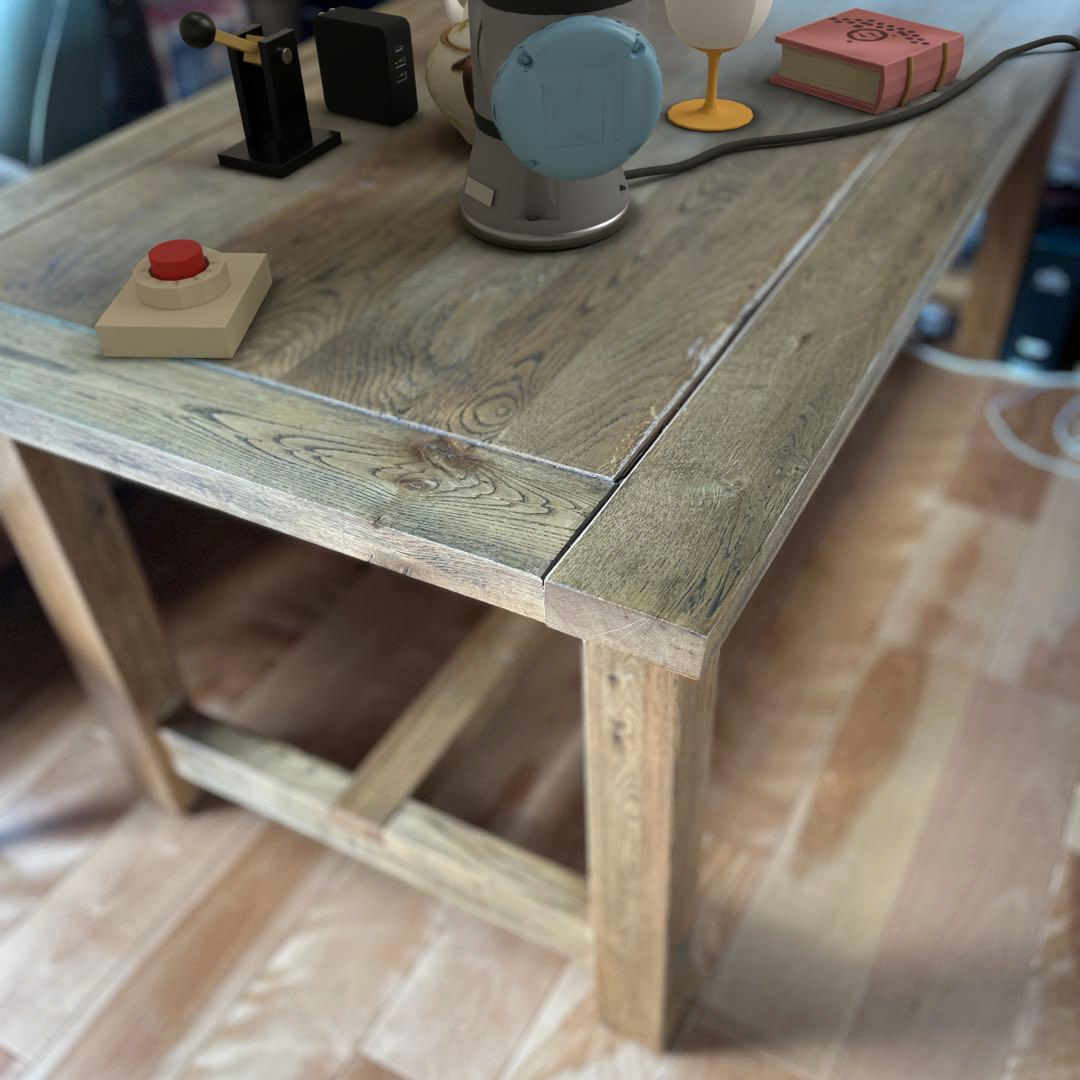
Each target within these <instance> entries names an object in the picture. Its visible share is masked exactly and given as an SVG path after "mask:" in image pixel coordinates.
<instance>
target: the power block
mask: <svg viewBox="0 0 1080 1080" xmlns="http://www.w3.org/2000/svg"><path fill="white" fill-rule="evenodd" d="M201 247H202V251H203V255H204V259H205V263H206V270H205V271H204V272H202V273H200V274H198V275H196V276H194V277H191V278H187V279H183V280H178V281H161V280H158V279H156V278H155V277H154V275H153V271H152V268H151V264H150V261H149V257H148V253H147V254H146V256H145V257H144V258H143V259H140V261H139V262H138V263H137V264H136V266H135V267H134V269H133V270H132V271H131V275H130V277H129V279H127V281H126V282H125V283H124V285H123V286H122V288H121V289H120V291H119V292H118V293H117V294H116V296H115V297H114V299H113V300H112V301H111V303H110V304H109V305H108V307H107V309H105V311H104V312H103V314H102V315H101V316H100V318H99V319H98V321H97V322H96V323H95V325H94V329H95V332H96V335H97V339H98V341H99V344H100V347H101V349H102V353H103V356H104V357H105V358H106V357H107V358H169V359H171V358H173V359H174V358H176V359H178V358H179V359H183V358H184V359H233V358H234V356H235V354H236V353H237V350H238V348H239V347H240V345H241V343H242V341H243V340H244V337H245V335H246V333H247V331H248V330H249V328H250V326H251V324H252V322H253V320H254V319H255V317H256V315H257V313H258V311H259V309H260V307H261V305H262V304H263V302H264V300H265V298H266V296H267V294H268V292H269V290H270V288H271V287H272V285H273V278H272V271H271V267H270V262H269V257H268V253H267V252H221V251H219V250H216V249H213V248H210V247H207V246H201Z"/></svg>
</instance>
